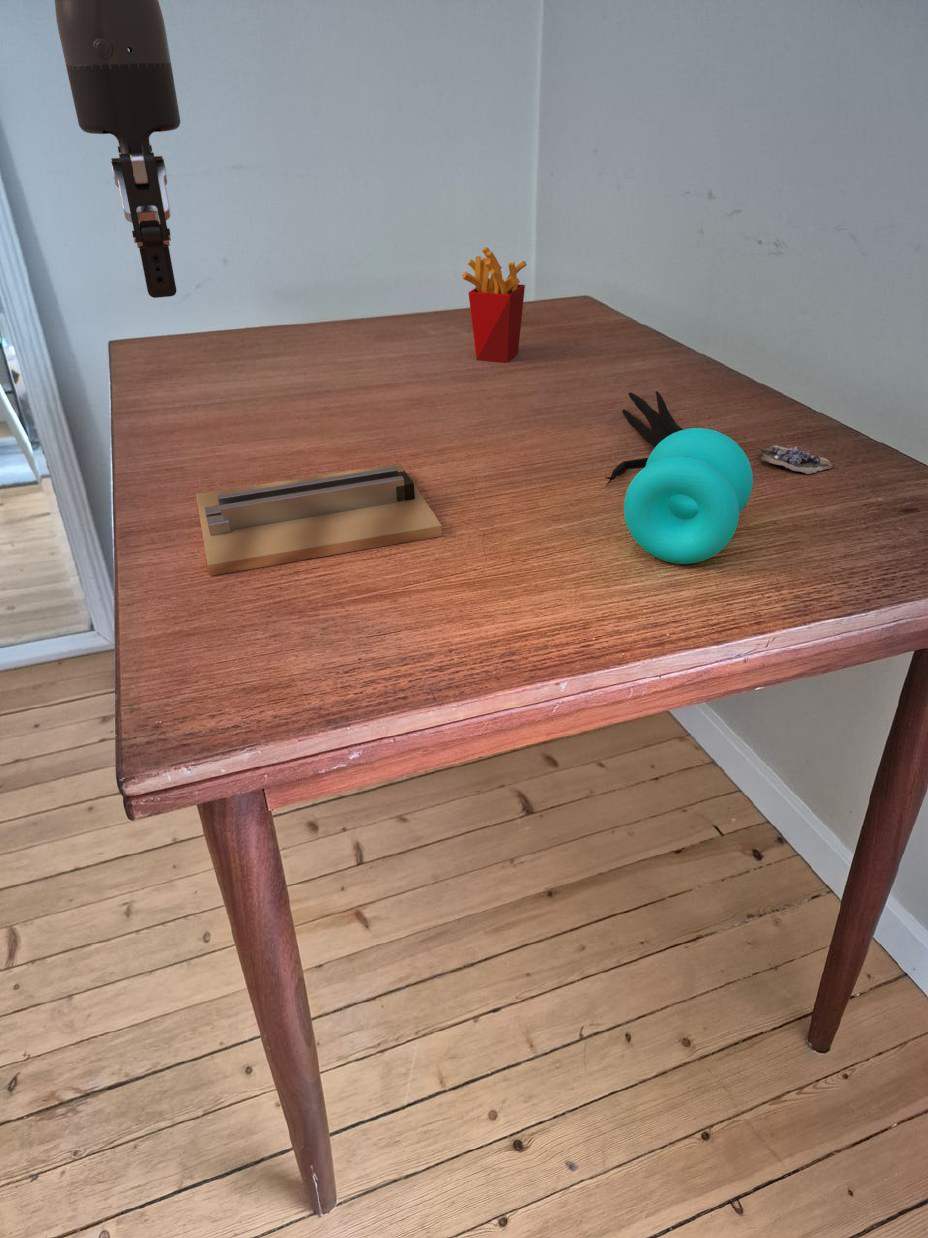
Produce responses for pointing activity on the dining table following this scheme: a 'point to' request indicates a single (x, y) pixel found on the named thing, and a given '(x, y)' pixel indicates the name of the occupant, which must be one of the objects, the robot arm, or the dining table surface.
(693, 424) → the dining table surface
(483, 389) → the dining table surface
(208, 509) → the steel tongs
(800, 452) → the crystal mineral rock
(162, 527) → the dining table surface
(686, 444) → the teal yo-yo
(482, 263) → the french fries
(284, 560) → the cutting board
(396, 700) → the dining table surface
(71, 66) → the robot arm
